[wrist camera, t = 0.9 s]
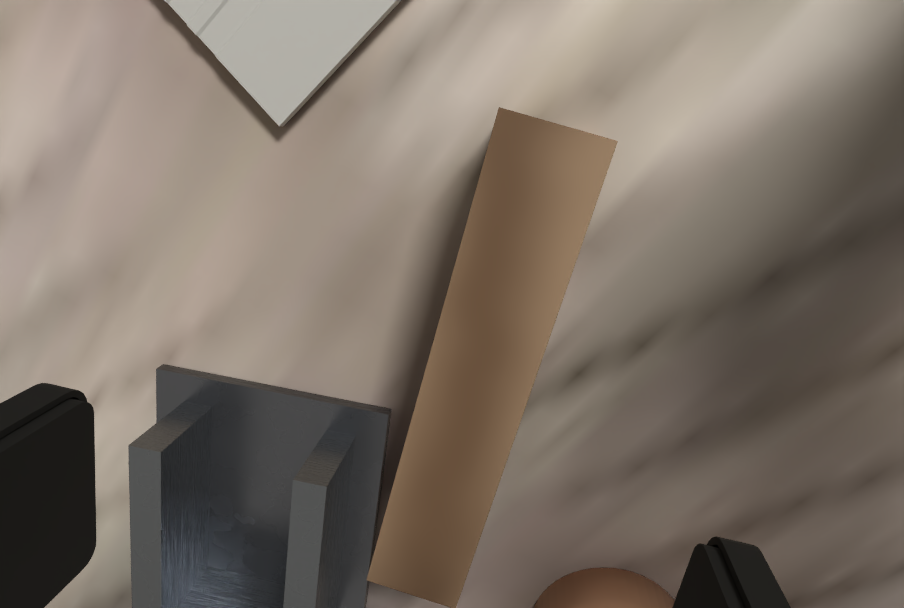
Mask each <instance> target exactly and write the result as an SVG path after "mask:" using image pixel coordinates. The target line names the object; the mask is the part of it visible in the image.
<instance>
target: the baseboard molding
mask: <svg viewBox="0 0 904 608" xmlns="http://www.w3.org/2000/svg"><path fill="white" fill-rule="evenodd" d="M164 1H165V2H167V3H168V4H169V5H170V6H171V7H172V8H173V10H174V11H175V12H176V13H177V14H178V15H179V16H180V17H181V18H182V19H183V21H184V22H185V23H186V24H187V26H188V27H189V28H190V29H191V30H192V31H193V32H194V34H195V35H197V36H198V37H199V38H200V39H201V40H202V41H203V42H204V44H205V45H206V46H207V47H208V48H209V49H210V50H211V51H212V52H213V53H214V55H215V56H216V58H217V59H218V60H219V61H220V62H221V63H222V64H223V65H224V66H225V68H226V69H227V70H228V71H229V72H230V73H231V74H232V75H233V76H234V77H235V79H236V80H237V81H238V82H239V83H240V84H241V85H242V86H243V87H244V88H245V89H246V91H247V92H248V93H249V94H250V95H251V96H252V97H253V98H254V99H255V100H256V102H257V103H258V104H259V105H260V106H261V107H262V108H263V109H264V110H265V111H266V112H267V114H268V115H269V116H270V117H271V118H272V119H273V120H274V121H275V122H276V123H277V125H278V126H284V125H285V124H286V123H287V122H288V121H289V120H290V119H291V118H292V117H293V116H294V115H295V114H296V113H297V112H298V110H299V109H300V108H301V107H302V106H303V105H304V104H305V103H306V102H307V101H308V100H309V99H310V98H311V97H312V96H313V94H314V93H315V92H316V91H317V90H318V89H319V88H320V87H321V86H322V85H323V84H324V83H325V82H326V81H327V79H328V78H329V77H330V76H331V75H332V74H333V73H334V72H335V71H336V70H337V69H338V68H339V67H340V66H341V64H342V63H343V62H344V61H345V60H346V59H347V58H348V57H349V56H350V55H351V54H352V53H353V52H354V51H355V49H356V48H357V47H358V46H359V45H360V44H361V43H362V42H363V41H364V40H365V39H366V38H367V37H368V36H369V34H370V33H371V32H372V31H373V30H374V29H375V28H376V27H377V26H378V25H379V24H380V23H381V22H382V21H383V20H384V18H385V17H386V16H387V15H388V14H389V13H390V12H391V11H392V10H393V9H394V8H395V7H396V6H397V5H398V3H399V2H400V1H401V0H164Z"/></svg>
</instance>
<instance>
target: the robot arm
mask: <svg viewBox="0 0 904 608" xmlns="http://www.w3.org/2000/svg"><path fill="white" fill-rule="evenodd" d="M95 547H96V502H95V445H94V410H93V407H92V405H91V404H90V403H88V402H87V399H86V397H85V395H84V393H82V392H80V391H78V390H74V389H70V388H65V387H61V386H57V385H52V384H48V383H40V384H37V385H35V386H33V387H31V388H29V389H27V390H25V391H23V392H21V393H19V394H17V395H16V396H14V397H12V398H10V399H8V400H6V401H4V402H2V403H0V608H44V607H45V606H46V605H47V604H48V603H49V602H50V601H51V600H52V599H53V598H54V597H55V596H56V595H57V594H58V593H59V592H60V591H61V590H62V589H63V588H64V587H65V586H66V585H67V584H68V583H70V582H71V581H72V580H73V579H74V578H75V577H76V576H77V575H78V574H79V573H80V572H81V571H82V570H83V569H84V567H85V566H86V565H87V564H88V562H89V561H90V559H91V557H92V555H93V553H94V550H95ZM673 608H791V607H790V606H789V604H788V602H787V600H786V598H785V596H784V594H783V592H782V590H781V588H780V587H779V585H778V583H777V581H776V579H775V577H774V575H773V573H772V571H771V569H770V568H769V566H768V564H767V562H766V560H765V558H764V556H763V554H762V552H761V551H760V550H759V548H758V547H756V546H754V545H750V544H746V543H742V542H737V541H733V540H729V539H724V538H720V537H713V538H711V539H710V540H709V542H708V544H707V545H704V544H698V545H697V546H696V547H695V548H694V551H693V553H692V556H691V558H690V561H689V564H688V567H687V569H686V572H685V575H684V577H683V580H682V583H681V586H680V588H679V591H678V594H677V597H676V599H675V602H674V605H673Z"/></svg>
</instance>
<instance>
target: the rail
mask: <svg viewBox="0 0 904 608" xmlns="http://www.w3.org/2000/svg"><path fill="white" fill-rule="evenodd" d="M617 142H618V141H615V140H612V139H608V138H605V137H601V136H598V135H594V134H591V133H587V132H584V131H580V130H577V129H573V128H570V127H566V126H563V125H559V124H556V123H552V122H549V121H545V120H542V119H538V118H535V117H531V116H528V115H524V114H520V113H517V112H513V111H510V110H506V109H503V108H499V109H498V113H497V116H496V120H495V123H494V127H493V130H492V134H491V138H490V141H489V145H488V148H487V152H486V155H485V159H484V162H483V166H482V170H481V173H480V177H479V180H478V184H477V187H476V191H475V195H474V198H473V202H472V205H471V209H470V212H469V216H468V220H467V223H466V227H465V230H464V234H463V237H462V241H461V245H460V248H459V252H458V255H457V259H456V262H455V266H454V269H453V273H452V277H451V280H450V284H449V287H448V291H447V294H446V298H445V302H444V305H443V309H442V312H441V316H440V319H439V323H438V327H437V330H436V334H435V337H434V341H433V344H432V348H431V352H430V355H429V359H428V362H427V366H426V369H425V373H424V376H423V380H422V384H421V387H420V391H419V394H418V398H417V401H416V405H415V409H414V412H413V416H412V419H411V423H410V426H409V430H408V434H407V437H406V441H405V444H404V448H403V451H402V455H401V459H400V462H399V466H398V469H397V473H396V476H395V480H394V483H393V487H392V491H391V494H390V498H389V501H388V505H387V508H386V512H385V516H384V519H383V523H382V526H381V530H380V533H379V537H378V541H377V544H376V548H375V551H374V555H373V558H372V562H371V565H370V569H369V573H368V576H367V581H370V582H373V583H376V584H380V585H383V586H386V587H389V588H392V589H395V590H398V591H401V592H404V593H407V594H410V595H414V596H417V597H420V598H423V599H426V600H429V601H432V602H435V603H438V604H441V605H444V606H448V607H451V608H456V606H457V603H458V600H459V597H460V594H461V591H462V589H463V586H464V583H465V580H466V577H467V574H468V571H469V568H470V566H471V563H472V560H473V557H474V554H475V551H476V548H477V545H478V542H479V540H480V537H481V534H482V531H483V528H484V525H485V522H486V519H487V517H488V514H489V511H490V508H491V505H492V502H493V499H494V496H495V493H496V491H497V488H498V485H499V482H500V479H501V476H502V473H503V470H504V468H505V465H506V462H507V459H508V456H509V453H510V450H511V447H512V444H513V442H514V439H515V436H516V433H517V430H518V427H519V424H520V421H521V419H522V416H523V413H524V410H525V407H526V404H527V401H528V398H529V395H530V393H531V390H532V387H533V384H534V381H535V378H536V375H537V372H538V370H539V367H540V364H541V361H542V358H543V355H544V352H545V349H546V346H547V344H548V341H549V338H550V335H551V332H552V329H553V326H554V323H555V321H556V318H557V315H558V312H559V309H560V306H561V303H562V300H563V298H564V295H565V292H566V289H567V286H568V283H569V280H570V277H571V274H572V272H573V269H574V266H575V263H576V260H577V257H578V254H579V251H580V249H581V246H582V243H583V240H584V237H585V234H586V231H587V228H588V225H589V223H590V220H591V217H592V214H593V211H594V208H595V205H596V202H597V200H598V197H599V194H600V191H601V188H602V185H603V182H604V179H605V176H606V174H607V171H608V168H609V165H610V162H611V159H612V156H613V153H614V151H615V148H616V145H617Z"/></svg>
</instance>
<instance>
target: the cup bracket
mask: <svg viewBox="0 0 904 608" xmlns="http://www.w3.org/2000/svg"><path fill="white" fill-rule="evenodd" d="M156 400H157V423H156V424H155V425H154V426H152V427H151V428H150V429H149V430H147V431H146V432H145V433H144V434H142V435H141V436H140V437H139V438H137V439H136V440H135V441H134V442H132V443H131V444H130V445H129V490H130V536H131V581H132V608H366V602H367V594H368V586H369V581H367V576H368V573H369V569H370V565H371V562H372V555H373V548H374V540H375V532H376V524H377V517H378V509H379V501H380V493H381V486H382V478H383V470H384V462H385V455H386V447H387V439H388V432H389V424H390V416H391V409H388V408H383V407H378V406H373V405H368V404H363V403H358V402H353V401H348V400H343V399H338V398H332V397H327V396H322V395H317V394H312V393H307V392H302V391H297V390H292V389H287V388H282V387H276V386H271V385H266V384H261V383H256V382H251V381H246V380H241V379H236V378H231V377H226V376H220V375H215V374H210V373H205V372H200V371H195V370H190V369H185V368H180V367H175V366H170V365H164V364H163V365H161V366H160V367H158V368H157V369H156Z"/></svg>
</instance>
